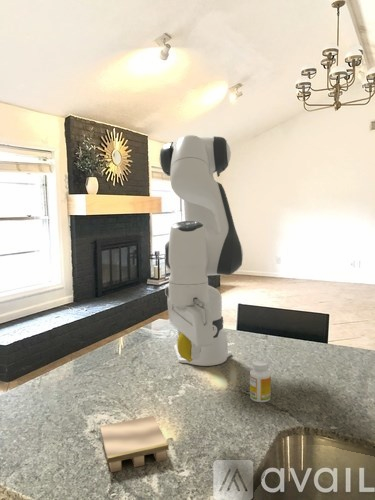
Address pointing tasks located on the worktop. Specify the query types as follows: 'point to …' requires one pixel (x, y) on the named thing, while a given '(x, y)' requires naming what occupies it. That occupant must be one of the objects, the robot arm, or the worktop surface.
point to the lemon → (184, 347)
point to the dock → (133, 441)
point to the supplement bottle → (260, 381)
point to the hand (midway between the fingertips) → (189, 353)
